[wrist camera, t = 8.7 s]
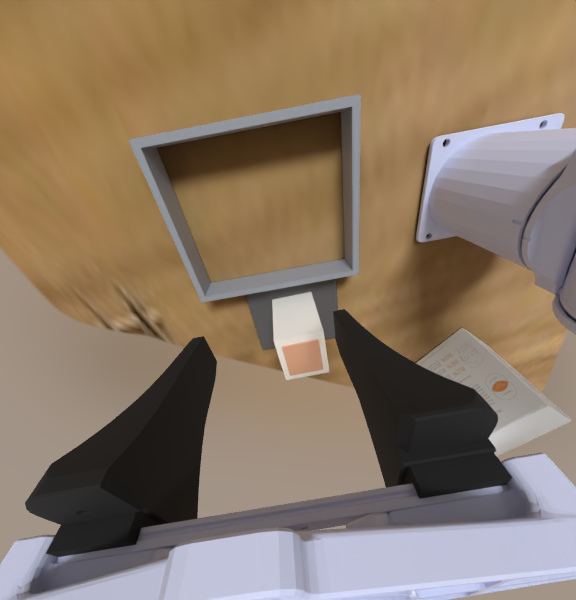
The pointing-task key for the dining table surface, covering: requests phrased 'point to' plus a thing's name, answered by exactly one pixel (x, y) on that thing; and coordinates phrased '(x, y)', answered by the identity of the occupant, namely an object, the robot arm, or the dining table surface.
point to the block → (299, 336)
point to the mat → (262, 301)
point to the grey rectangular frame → (154, 166)
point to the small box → (496, 389)
